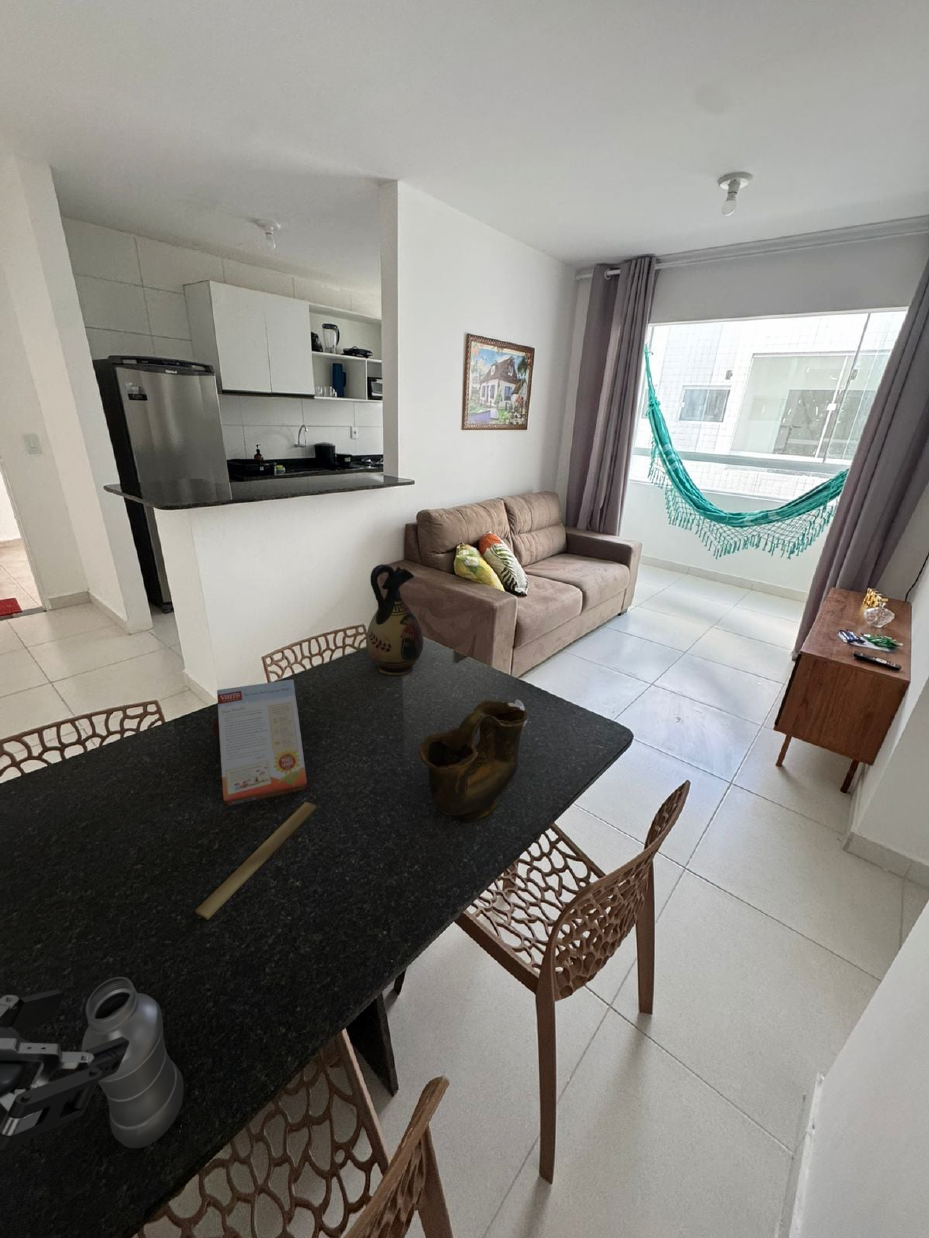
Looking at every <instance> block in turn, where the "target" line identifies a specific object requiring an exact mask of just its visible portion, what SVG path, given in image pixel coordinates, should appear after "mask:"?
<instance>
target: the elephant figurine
mask: <svg viewBox="0 0 929 1238" xmlns="http://www.w3.org/2000/svg"><path fill="white" fill-rule="evenodd" d="M507 703H508V705H509V706H515V707H520V709H521V710H524V711H526V709H525V705H524V703H523V702H522V700H520V699H515V700H514V702H507ZM527 723H528V719H527V720H526V721H525V722H524V724H523V727H522V728H524V727H526V725H527Z"/></svg>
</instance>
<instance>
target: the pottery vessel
mask: <svg viewBox="0 0 929 1238" xmlns="http://www.w3.org/2000/svg"><path fill="white" fill-rule="evenodd" d="M508 703H509V702H508V701H504V702H502V701H494V700H491V699H489V700H488V699H487V700H486V699H485V700H483V701H482V702H479V703H478V704H477V705H476V706H475V707H474V708H473V711H472V712H470V713H469V714H467V716H466V717H465V718H464V719H463V720H462V721H461V723H460V725H459V726H458V727H455V728H452V729H450V730H448V731H444V732H440V733H434V734H431V735H427V736H425V737H424V738H423V740H422V741H421V742H420V743H418V745H417V746H418V751H417V753H418V755H419V757H420V761H421V762H422V763H423V764H424V765H425V766H426V767H427V768H428V778H429V779H428V781H429V782H428V786H429V790H430V794H431V799H433V801H434V804H435V805H436V807H437V808H438V809H439V811H440V812H441V813H443V814H444V815H446V816H451V817H452V816H453V817H455V818H457V819H459V821H461V822H465V823H467V822H468V823H469V822H478V821H481V820H483V819H485V818H487V817H488V816H490V815H492V813H493V812H494V811H495V810H497V808H498V806H499V805H500V796H501V795H502V794H503V792H504V791H505V790H506V789H507V787H508V785H509V784H510V783H511V780H512V779H513V777H514V776H515V774H516V773H517V770H518V768H519V746H520V741H521V736H522V730H523V728H524V727H523V724H524V722H525V721H526V720H527V721H528V716H529V713H528V711H527V710H525V711H524V710H521V709H520V707H515V706H509V705H508ZM478 730H479V741H478V742H477V744H476V745H475V743H474V742H475V737H476V735H477V734H478Z"/></svg>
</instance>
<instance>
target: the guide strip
mask: <svg viewBox="0 0 929 1238" xmlns="http://www.w3.org/2000/svg"><path fill="white" fill-rule="evenodd" d="M315 810H317V805H315V804H313V803H310V802H307V801H305V802H304V803H303V804H301V806H300V807H298V809H296V810H295V812H294V813H293V814H292V815H290V817H289V818H287V820H285V821H284V822H283V823H282V825H280V826H279V827H278V828H277V829H276V830H275V831H274V832H273V833H272V834H271V835H270V836H269V837H268V838H267V839H266V840H265V841H264V842H263V843H262V844H261V845H260V846H259V847H258V848H257V849H256V850H255V851H254V852H253V853H252V854H251V855H249V857H248V858H247V859H246V860H245V861H244V862H243V863H242V864H241V865H240V866H239V867H237V869H236V870H235V871H233V873H232V874H231V875H230V876H228V877H227V879H225V880H224V881H223V883H221V884H220V885H219V886H218V888H216V889H215V890H214V891H213V892H212V893H211V894H210V895H209V896H208V897H207V898H206V899H205V900H204V901H203V902H202V903H201V904H200V905H199V906H198V907H197V908H196V909H195V914H197V915H199V916H201V917H202V918H204V919H206V920H210V919H211V917H212V916H213V915H214V914H216V913H217V912H218V910H220V908H221V907H222V906H223V905H224V904H225V903H226V902H227V901H228V900H229V899H230V898H231V897H232V896H233V895H234V894H235V893H236V892H237V891H238V890H239V889H240V888H241V887H242V886H243V885H244V884H245V883H246V882H247V881H248V879H249V878H250V877H252V875H253V874H255V872H257V870H258V869H259V868H260V867H261V866H262V865H263V864H264V863H265V862H266V861H267V860H268V859H269V858H270V857H271V856H272V855H273V854H274V853H275V852H276V851H277V850H278V849H279V848H280V846H281V845H282V844H284V843H285V841H286V840H287V839H288V838H289V837H291V835H292V834H293V833H294V832H295V831H296V830H297V829H298V828H299V827H300V826H301V825H302V824H303V823H304V822H305V821H306V820H307V819H308V818H309V817H310V816H311V815H312V814H313V812H315Z"/></svg>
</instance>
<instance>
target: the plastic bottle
mask: <svg viewBox="0 0 929 1238" xmlns="http://www.w3.org/2000/svg"><path fill="white" fill-rule="evenodd" d="M85 1015H86V1018H87V1024H88V1027H87V1028H86V1030H85V1032H84V1035H83V1037H82V1042H81V1049H80V1052H86V1050H88V1049H90V1048H93V1047H96V1046H98V1045H101V1044H103V1043H106V1042H109V1041H111V1040H114V1039H116V1038H119V1037H122V1036H123V1037H124V1038H126V1039H127V1040H128V1041H129V1045H128V1048H127V1051H126V1053H125V1056H124V1058H123V1060H122V1062H121V1064H120V1066H119V1069H118V1070H117V1071H116V1072H115V1073H114V1074H112V1075H110V1076H108V1077H106V1078H103V1079H101V1080H99V1081H98V1083H97V1085H99V1086H100V1088H101V1090H102V1091H103V1092H104V1093H103V1094H104V1095H105V1096H106V1099H107V1103H108V1104H107V1105H108V1108H109V1109H108V1111H109V1125H110V1130H111V1133H112V1135H113V1137H114V1138H115V1139H116V1140H117V1141H118V1142H119V1143H120V1144H122V1145H123V1146H124V1147H127V1148H130V1149H141V1148H144V1147H147V1146H149V1145H152V1144H153V1143H155V1142H156V1141H158V1140H159V1139H160V1138H161V1137H163V1135H165V1133H167V1131H168V1130H169V1129H170V1128H171V1127H172V1125H173V1123H174V1122H175V1121H176V1119H177V1117H178V1115H179V1114H180V1111H181V1108H182V1105H183V1102H184V1101H183V1100H184V1088H185V1087H184V1086H185V1085H184V1078H183V1074H182V1072H181V1071H180V1069H179V1067H178V1066H177V1064H175V1063H174V1061H173V1060H172V1059H171V1058H170V1057H171V1056H170V1055H169V1053H168V1052H167V1049H166V1044H165V1039H164V1021H163V1014H162V1009H161V1007H160V1004H159V1003H158V1002H157V1001H156V1000H155V999H154V998H153V997H151V996H149V995H148V994H145V993H143V992H142V993H141V992H138V991H137V989H136V988H135V986H134V984H133V982H132V980H130V979H129V978H128V977H126V976H117V977H116V976H114V977H112V978H110V979H107V980H105V981H104V982H102V983H100V985H98V986H97V987H96V988H95V989H94V990H93V992H92V993H90V996H89V997H88V999H87V1002H86V1004H85Z"/></svg>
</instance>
